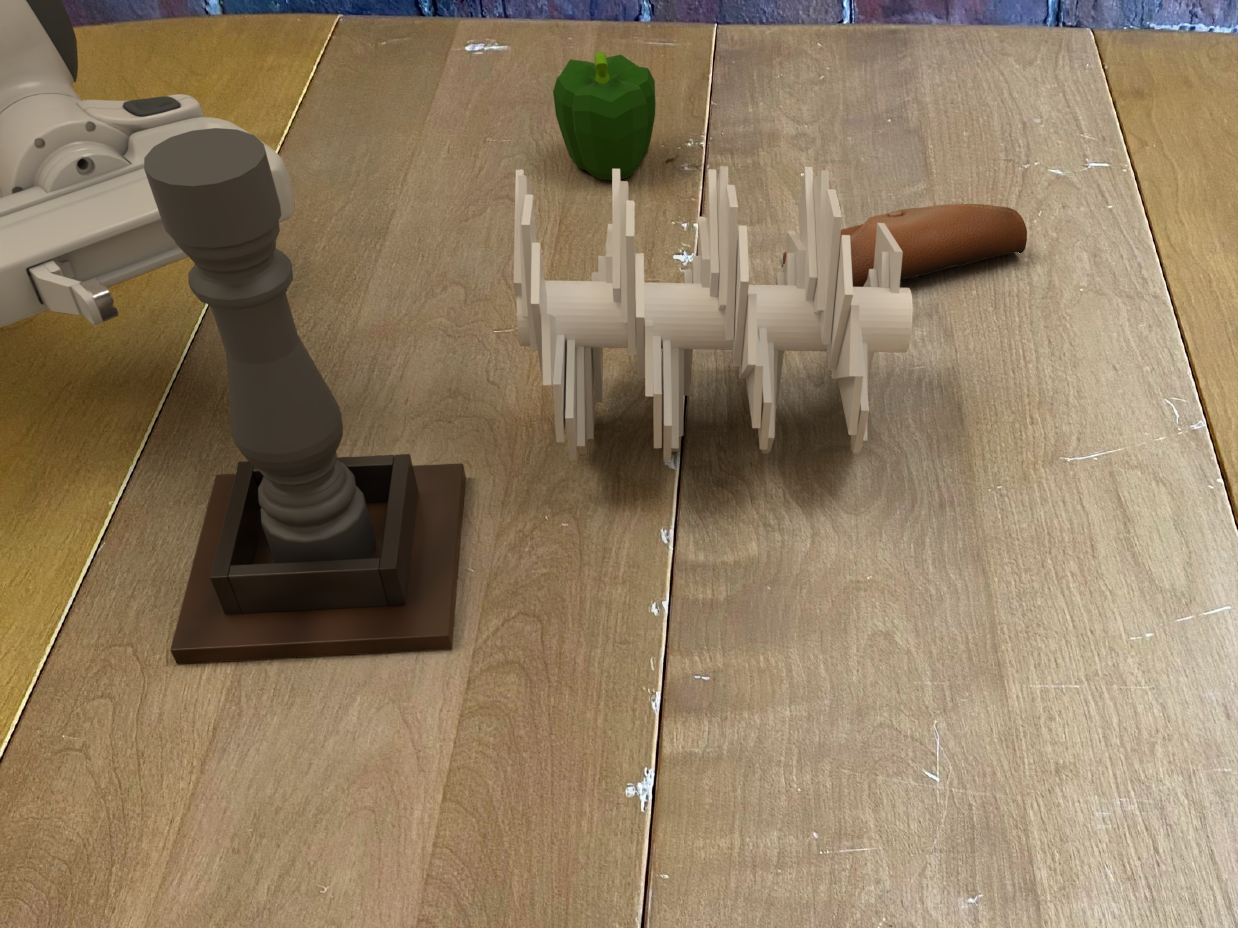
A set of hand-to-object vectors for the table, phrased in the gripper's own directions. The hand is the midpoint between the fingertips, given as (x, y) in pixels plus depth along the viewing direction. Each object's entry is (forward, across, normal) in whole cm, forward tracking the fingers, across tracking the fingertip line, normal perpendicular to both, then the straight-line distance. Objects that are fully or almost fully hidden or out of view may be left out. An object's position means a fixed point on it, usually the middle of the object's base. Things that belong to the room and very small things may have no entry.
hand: (181, 279), depth 79 cm
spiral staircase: (+14, +27, +16) cm, 35 cm away
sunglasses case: (+8, +52, +16) cm, 55 cm away
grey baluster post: (+9, 0, +15) cm, 17 cm away
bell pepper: (-19, +44, +16) cm, 51 cm away
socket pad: (+9, 0, +16) cm, 18 cm away
